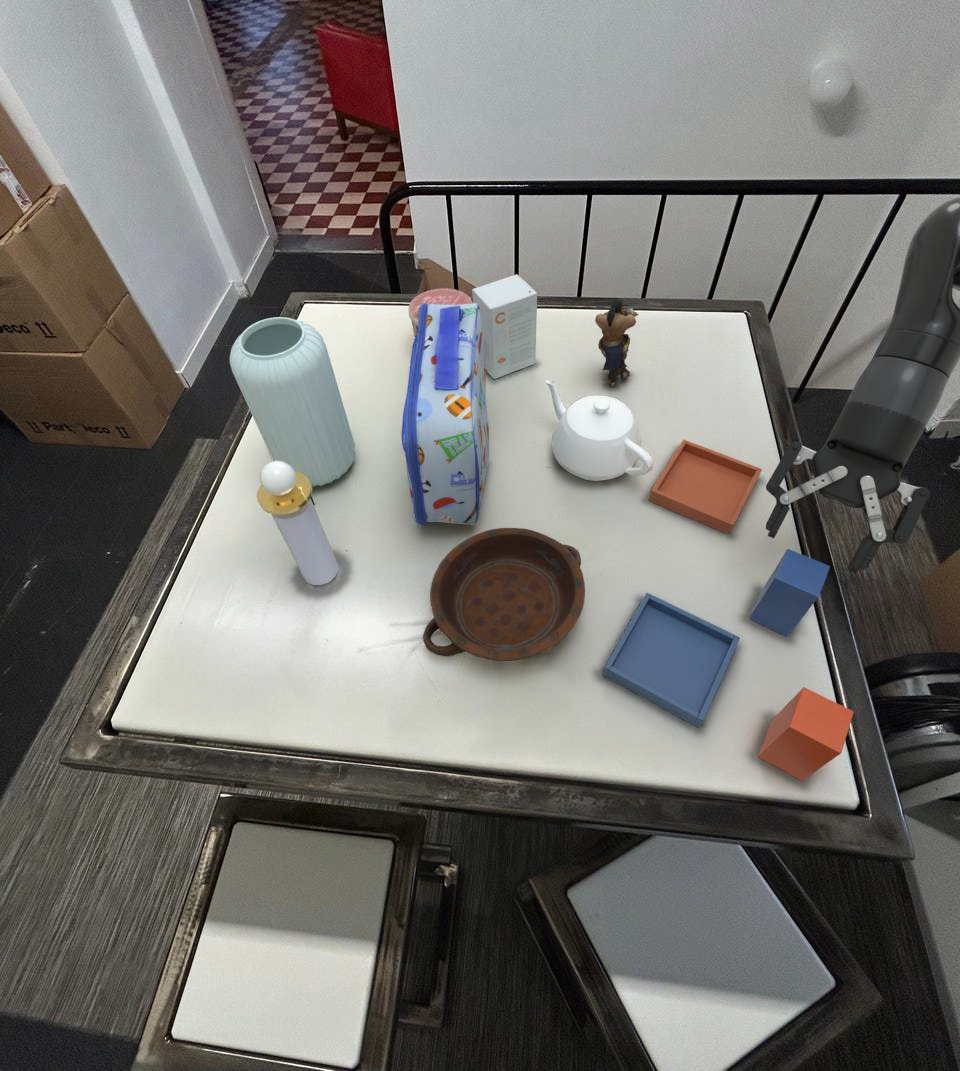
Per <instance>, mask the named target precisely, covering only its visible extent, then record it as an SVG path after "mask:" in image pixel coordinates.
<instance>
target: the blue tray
mask: <svg viewBox="0 0 960 1071" xmlns="http://www.w3.org/2000/svg"><path fill="white" fill-rule="evenodd" d="M740 639H741V637H740V636H738V635H736V634H735V633H732V632H730V631H728V630H725V629H724V628H721V627H719V626H717V625H715V624H713V623H712V622H709V621H707V620H706V619H702V618H701V617H699V616H696V615H695V614H693V613H691V612H688V611H687V610H684V609H682V608H680V607H678V606H676V605H674V604H672V603H670V602H668V601H666V600H663V599H662V598H660V597H657V596H656V595H652V594H651V593H649V592H646V593H645V595H644V596H643V598H642V600H641V602H640V603H639V605H638V607H637V609H636V611H635V612H634V614H633V615H632V618H631V620H630V621H629V623H628V625H627V627H626V628H625V630H624V632H623V633H622V635H621V637H620V639H619V640H618V642H617V643H616V646H615V647H614V649H613V651H612V653H611V655H610V657H609V658H608V660H607V662H606V663H605V665H604V668H603V670H602V676H604V677H606V678H607V679H609V680H611V681H612V682H614V683H616V684H618V685H620V686H621V687H624V688H625V689H626V690H627V689H628V690H629V691H631V692H633V693H634V694H637V695H638V696H640V697H642V698H643V699H645V700H647V701H649V702H651V703H653V704H654V705H656V706H658V707H660V708H662V709H664V710H666V711H667V712H669V713H671V714H673V715H674V716H676V717H678V718H680V719H681V720H683V721H686V722H687V723H689V724H691V725H693V726H695V727H696V728H699V727H700V726H701V725H702V723H703V722H704V720H705V718H706V715H707V714H708V711H709V709H710V707H711V705H712V702H713V701H714V698H715V695H716V693H717V691H718V689H719V686H720V685H721V683H722V680H723V677H724V675H725V673H726V672H727V669H728V666H729V664H730V662H731V660H732V657H733V655H734V652H735V650H736V648H737V647H738V644H739V641H740Z"/></svg>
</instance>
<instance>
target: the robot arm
mask: <svg viewBox="0 0 960 1071" xmlns="http://www.w3.org/2000/svg"><path fill="white" fill-rule="evenodd" d="M912 236H913V237H912V238H911V240H910V243H909V245H908V248H907V251H906V255H905V259H904V263H903V267H902V274H901V279H900V284H899V287H898V292H897V296H896V301H895V305H894V309H893V313H892V318H891V321H890V324H889V325H888V328H887V329H886V331H885V333H884V335H883V337H882V338H881V341H880V342H879V344H878V346H877V348H876V350H875V351H874V354H873V356H872V358H871V359H870V361H869V362H868V364H867V365H866V368H865V369H864V370H863V372H862V373H861V374H860V376H859V377H858V379H857V380H856V383H855V384H854V387H853V389H852V390H851V391H850V393H849V394H848V398H847V400H846V402H845V404H844V406H843V408H842V410H841V412H840V414H839V415H838V418H837V420H836V421H835V423H834V425H833V427H832V429H831V431H830V433H829V435H828V437H827V438H826V440H825V442H824V445H822V447H821V448H820V449H819V450H813V449H811V448H809V447H807V446H804V445H802V443H801V442H800V441H797V440H795V441H791V443H790V444H789V445H788V447H787V448H786V450H785V452H784V454H783V456H782V457H781V459H780V460H779V462H778V464H777V466H776V468H775V469H774V471H773V473H772V475H771V476H770V478H769V480H768V481H767V483H766V485H765V490H766V492H768V493H769V494H770V495H771V496H773V498H774V499H775V501H776V502H775V505H774V507H773V509H772V511H771V513H770V514H769V517H768V519H767V521H766V523H765V530H767V531H768V533H767V537H769V538H771V539H775V538H776V536H777V534H778V532H779V531H780V529H781V527H782V524H783V523H784V520H785V519H786V516H787V515H788V514H789V511H790V509H791V507H789V506H790V505H791V504H792V503H794V502H796V501H798V500H800V499H801V498H804V497H806V496H808V495H811V494H812V493H814V492H818V493H819V494H820V495H821V496H822V497H824V498H826V499H828V500H834V501H835V500H836V501H839V502H840V503H841V504H842V505H844V506H846V507H849V508H852V509H861V511H862V516H863V519H864V521H865V525H866V529H867V534H868V535H867V536H866V537H863V538H862V540H861V542H860V544H859V545H858V547H857V548H856V551H855V553H854V555H853V556H852V558H851V560H850V562H849V564H848V565H847V567H846V569H847V570H848V571H849V572H852V573H855V574H857V573H858V571H859V569H860V570H862V571H865V570H867V568H869V565H870V564H871V563H872V560H873V559H874V557H875V555H876V553H877V552H878V550H879V548H880V546H882V544H885V543H894V544H900V545H903V544H905V543H908V541H909V539H910V537H911V536H912V533H913V530H914V528H915V526H916V525H917V522H918V520H919V519H920V516H921V515H922V512H923V511H924V508H925V506H926V504H927V502H928V499H929V498H930V496H931V491H930V489H929V488H927V487H924V486H916V485H912V484H909V483H905V482H902V481H901V475H902V474H901V473H902V471H903V469H904V467H905V465H906V463H907V462H908V460H909V458H910V456H911V454H912V452H913V451H914V449H915V447H916V445H917V443H918V442H919V440H920V438H921V437H922V434H923V433H924V431H925V429H926V427H927V425H928V424H929V422H930V420H931V418H932V417H933V415H934V413H935V411H936V409H937V407H938V405H939V404H940V401H941V399H942V397H943V394H944V391H945V388H946V386H947V384H948V382H949V379H950V378H951V377H952V374H953V373H954V371H955V369H956V367H957V365H958V363H959V361H960V307H959V305H958V304H957V303H956V302H955V300H954V297H953V290H957V291H959V292H960V196H957V197H954V198H952V199H950V200H947V201H945V202H943V203H941V204H940V205H939V206H937V207H935V209H933V210H932V211H930V213H929V214H928V215H927V216H926V218H925V219H923V221H922V222H921V223H920V224H919V226H918V228H916V231H915V233H914V234H913V235H912ZM806 460H810V464H811V468H812V472H813V478H812V479H809V480H808V481H805V482H804V483H802V484H799V485H797V486H796V487H793V488H792V489H790V490H787V491H786V490H785V489H784V488H783V487H781V484H782V483H783V481H784V480H785V477H786V476H787V474H788V472H789V471H790V469H791V468H792V466H793V465H794V466H799V465H801V464H802V463H803V462H804V461H806ZM896 492H897V493H898V495H899V498H898V502H899V504H901V505H902V509H901V511H900V513H899V515H898V517H897V519H896V522H895V524H894V526H893V527H892V529H886V528H885V523H884V520H883V512H882V508H881V505H880V501H879V500H881V499H883V498H885V497H888V496H890V495H891V494H893V493H896Z"/></svg>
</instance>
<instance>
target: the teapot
mask: <svg viewBox="0 0 960 1071" xmlns="http://www.w3.org/2000/svg"><path fill="white" fill-rule="evenodd" d="M545 383H546V385H547V386H548V388H549V390H550V391H549V392H550V394H551V399H552V405H553V408H554V413H555V415H556V417H557V419H558V422H557V424H556V426H555V427H554V430H553V433H552V436H551V449H552V453H553V455H554V457H555V460H556V461H557V463H558V464H559V466H561V467H562V468H563V469H564V470H565V471H567V472H568V473H569V474H571V475H573V476H575V477H577V478H579V479H583V480H585V481H592V482H593V481H594V482H600V481H607V480H612V479H613V480H614V479H615V478H618V477H621V476H622V475H624V474H628V475H630V476H644V475H646V474H648V473H650V472H651V471H652V470H653V468H654V463H655V462H654V460H653V457H652V456H651V455H650V454H649V453H648V452H647V451H646V450H645V449H644V448H642V438H641V432H640V428H639V425H638V422H637V419H636V416H635V415H634V413H633V412H632V410H631V409H630V408H629V406H628V405H627V404H626V403H624V402H623V401H622V400H620V399H618V398H616V397H612V396H609V395H608V396H607V395H602V394H600V395H599V394H595V395H593V394H592V395H588V396H583V397H580V398H579V399H577V400H575V401H574V402H573V403H571V405H569V406H567V408H566V407H565V405H564V404H563V402H562V398H561V395H560V392H559V390H558V387H557V385H556V382H555V381H554V380H552V379H547V380H545ZM637 461H640V462H641V464H642V467H641V466H640V467H634V465H635V464H636V463H637Z"/></svg>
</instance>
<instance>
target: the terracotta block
mask: <svg viewBox="0 0 960 1071" xmlns="http://www.w3.org/2000/svg"><path fill="white" fill-rule="evenodd" d="M854 713H855V711H853V710H852V709H849V708H847V707H845V706H844V705H841V704H839V703H838V702H835V701H833V700H831V699H829V698H827V697H826V696H823V695H821V694H819V693H817V692H815V691H813V690H811V689H809V688H807V687H805V686H804V687H802V688H801V689H800V690H799V691H798V692H797V693H796V694H795V695H794V696H793V698H792V699H791V700H789V702H788V703H787V704H786V705H785V706H784V707H783V708H782V709H781V710H780V711H779V712H778V713H777V714H776V715H775V716H774V717H773V718H772V719H771V721H770V724H769V726H768V729H767V731H766V734H765V736H764V739H763V742H762V744H761V747H760V749H759V753H758V754H757V758H759V759H761V760H763V761H765V762H766V763H769V764H771V765H772V766H774V767H776V768H778V769H780V770H782V771H783V772H784V773H786V774H788V775H790V776H792V777H795V778H796V779H797V780H799V781H802V782H803V781H805V780H806V779H807V778H809V777H810V776H812V775H813V774H814V773H816V772H817V771H818V770H820V769H822V768H823V767H824V766H826V765H828V764H829V763H830V762H831V761H833V760H834V759H836V757H837V758H838V756H840V755H841V754H842V752H843V749H844V745H845V742H846V739H847V736H848V732H849V729H850V726H851V723H852V719H853V717H854Z"/></svg>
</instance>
